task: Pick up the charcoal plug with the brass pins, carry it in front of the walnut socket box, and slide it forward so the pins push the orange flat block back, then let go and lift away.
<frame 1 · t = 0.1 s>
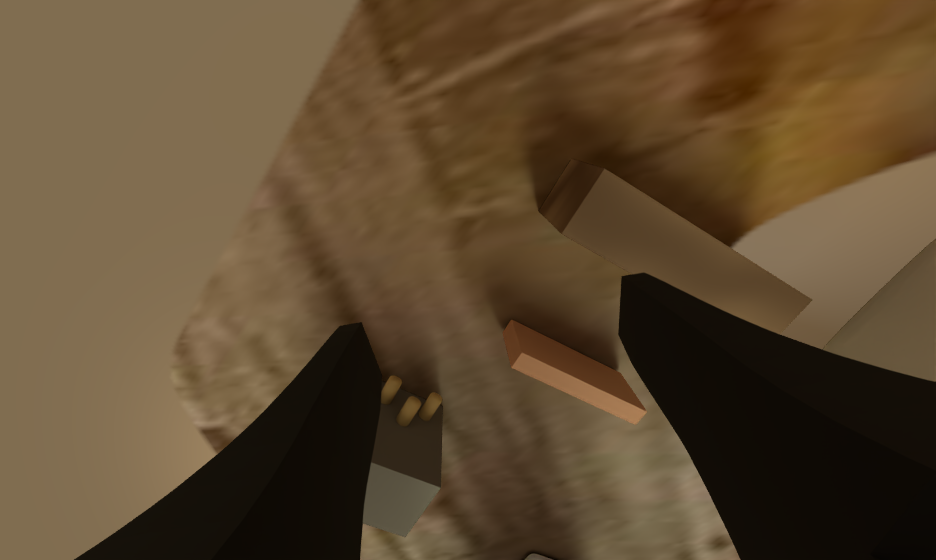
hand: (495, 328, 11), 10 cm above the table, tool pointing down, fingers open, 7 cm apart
plug: (393, 414, 25), on the table
socket housing: (645, 239, 21), on the table
orange flat block: (571, 370, 22), point 2 cm above the table, slide at 0.0 cm
photo printer: (887, 304, 24), on the table
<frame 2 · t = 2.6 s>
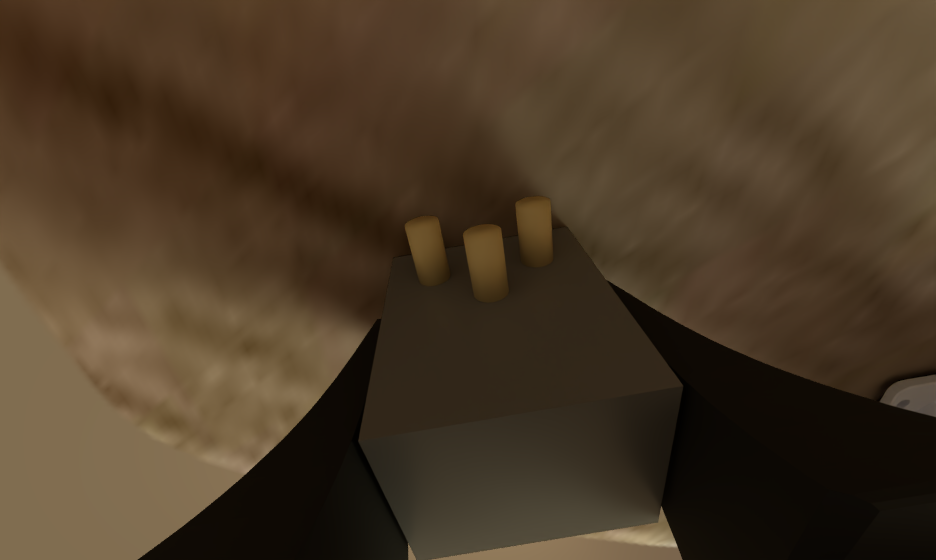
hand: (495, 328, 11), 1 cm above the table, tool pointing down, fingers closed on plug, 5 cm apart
plug: (488, 299, 12), on the table, touching gripper
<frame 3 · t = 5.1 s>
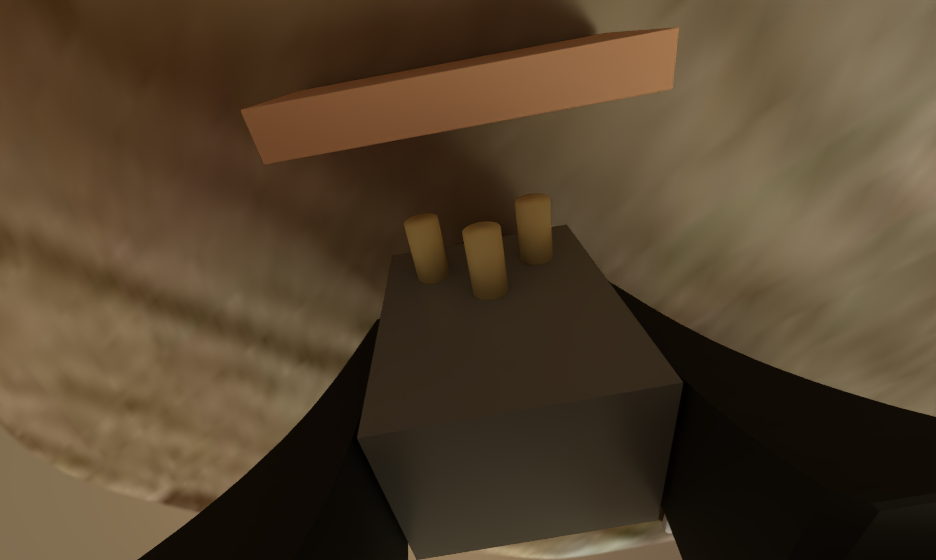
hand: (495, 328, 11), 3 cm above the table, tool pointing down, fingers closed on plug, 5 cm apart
plug: (488, 297, 12), point 2 cm above the table, touching gripper
orange flat block: (457, 90, 9), point 2 cm above the table, slide at 0.0 cm
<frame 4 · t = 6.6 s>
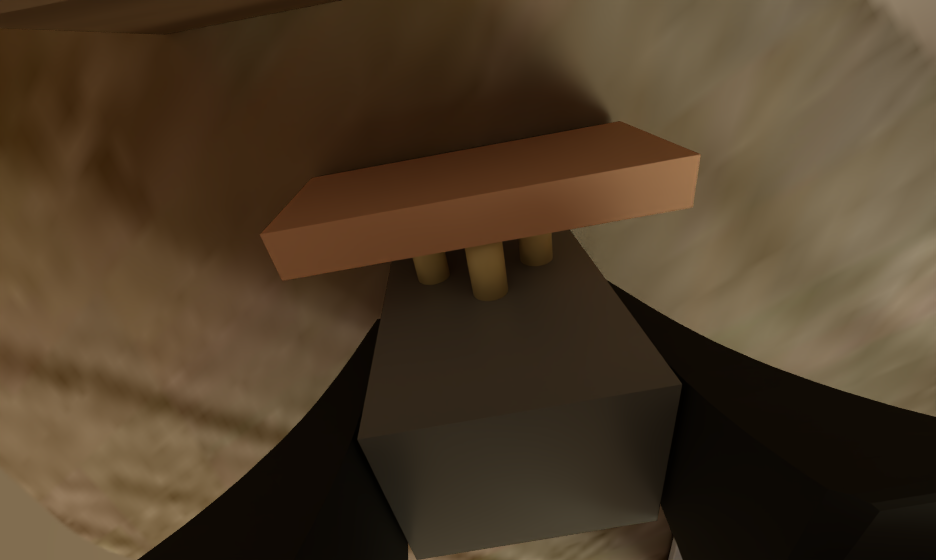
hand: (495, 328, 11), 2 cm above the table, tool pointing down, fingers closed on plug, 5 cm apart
plug: (488, 298, 12), on the table, touching gripper, orange flat block
orange flat block: (473, 190, 9), point 2 cm above the table, slide at 2.5 cm, touching plug
when the fingers open (2 cm above the table, at t = 7.8 s): plug stays where it is, on the table.
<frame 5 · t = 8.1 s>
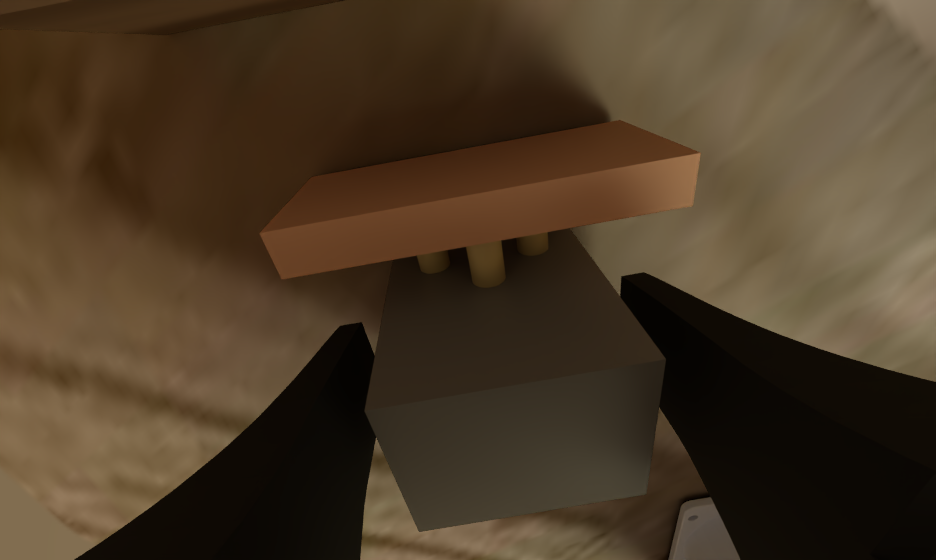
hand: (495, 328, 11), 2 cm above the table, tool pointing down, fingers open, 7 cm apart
plug: (487, 289, 13), on the table
orange flat block: (473, 189, 9), point 2 cm above the table, slide at 2.5 cm
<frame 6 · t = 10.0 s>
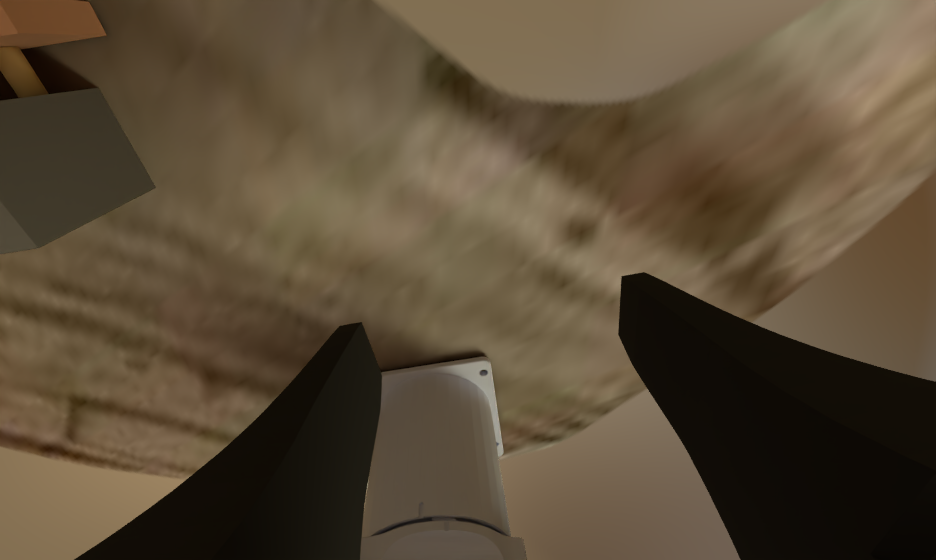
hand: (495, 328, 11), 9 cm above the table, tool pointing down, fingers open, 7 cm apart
plug: (70, 150, 16), on the table
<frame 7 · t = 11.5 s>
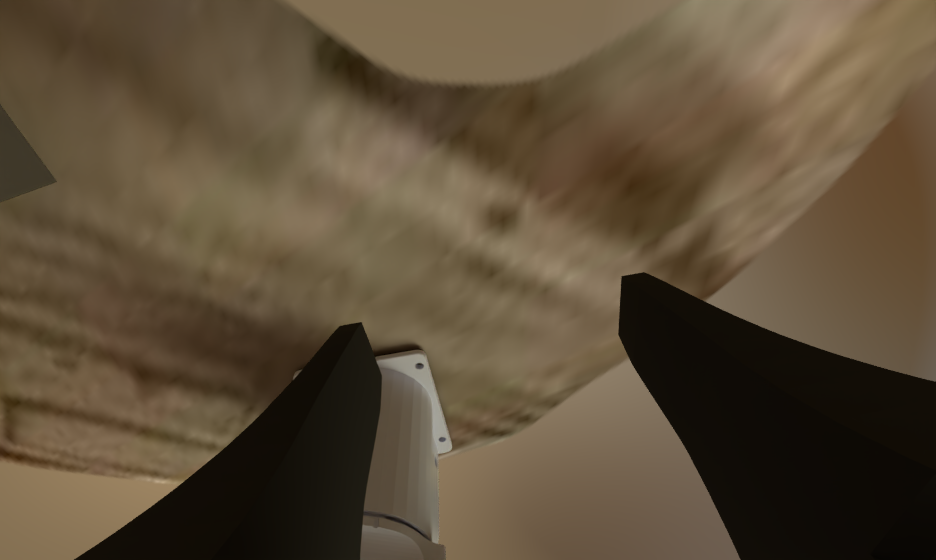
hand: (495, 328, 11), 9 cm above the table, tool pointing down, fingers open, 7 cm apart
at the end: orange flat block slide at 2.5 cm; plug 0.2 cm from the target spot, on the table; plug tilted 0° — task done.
